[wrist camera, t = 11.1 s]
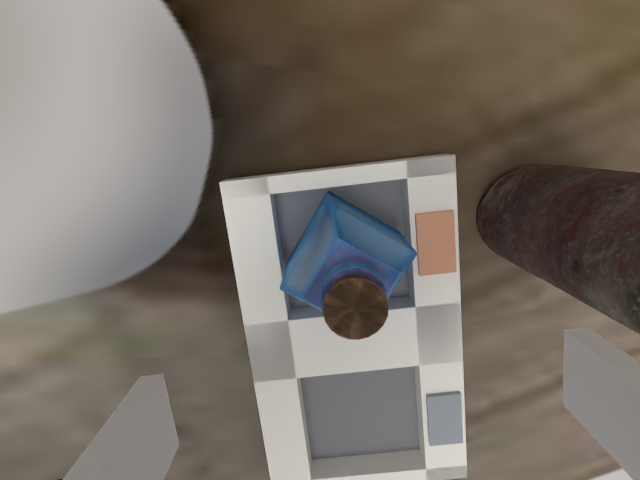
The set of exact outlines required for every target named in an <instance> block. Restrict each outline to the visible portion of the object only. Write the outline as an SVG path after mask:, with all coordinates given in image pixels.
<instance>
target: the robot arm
mask: <svg viewBox="0 0 640 480" xmlns="http://www.w3.org/2000/svg"><path fill="white" fill-rule="evenodd" d="M563 405H564V406H565V408H566V409H567V410H568V411H569V412H570V413H571V414H572V415H573V416H574V417H575V418H576V419H577V420H578V421H579V422H580V423H581V425H582V426H583V427H584V428H585V429H586V430H587V431H588V432H589V433H590V434H591V435H592V436H593V437H594V438H595V439H596V440H597V442H598V443H599V444H600V445H601V446H602V447H603V448H604V449H605V450H606V451H607V452H608V453H609V454H610V455H611V456H612V457H613V458H614V460H615V461H616V462H617V463H618V464H619V465H620V466H621V467H622V468H623V469H624V470H625V471H626V472H627V473H628V474H629V475H630V477H631V478H632V479H633V480H640V362H639V361H637V360H636V359H634V358H633V357H632V356H630V355H629V354H627V353H626V352H624V351H623V350H621V349H620V348H618V347H617V346H615V345H614V344H612V343H611V342H609V341H608V340H606V339H605V338H603V337H602V336H601V335H599V334H598V333H596V332H595V331H593V330H592V329H590V328H589V327H585V328H576V329H566V330H564V365H563ZM178 447H179V441H178V437H177V432H176V428H175V423H174V419H173V415H172V410H171V406H170V401H169V397H168V393H167V388H166V384H165V379H164V375H163V374H156V375H147V376H140V377H139V379H138V380H137V381H136V383H135V384H134V385H133V387H132V388H131V389H130V390H129V392H128V393H127V394H126V396H125V397H124V398H123V400H122V401H121V402H120V404H119V405H118V406H117V408H116V409H115V410H114V412H113V413H112V414H111V416H110V417H109V418H108V420H107V421H106V422H105V424H104V425H103V426H102V428H101V429H100V430H99V432H98V433H97V434H96V436H95V437H94V438H93V440H92V441H91V442H90V444H89V445H88V446H87V448H86V449H85V450H84V452H83V453H82V454H81V456H80V457H79V458H78V460H77V461H76V462H75V464H74V465H73V466H72V468H71V469H70V470H69V472H68V473H67V474H66V476H65V477H64V478H63V479H60V480H164V478H165V476H166V474H167V472H168V469H169V467H170V465H171V463H172V461H173V458H174V456H175V454H176V452H177V450H178Z"/></svg>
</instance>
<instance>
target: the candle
mask: <svg viewBox="0 0 640 480" xmlns="http://www.w3.org/2000/svg"><path fill="white" fill-rule="evenodd" d="M477 223H478V227H479V231H480V233H481V235H482V237H483V239H484V241H485V243H486V244H487V245H488V246H489V247H490V249H492V250H493V251H494V252H495V253H497V254H498V255H500V256H502V257H504V258H505V259H507V260H509V261H510V262H512V263H514V264H516V265H517V266H519V267H521V268H523V269H524V270H526V271H528V272H530V273H531V274H533V275H535V276H537V277H539V278H541V279H543V280H545V281H547V282H548V283H550V284H552V285H554V286H555V287H557V288H559V289H561V290H563V291H565V292H566V293H568V294H570V295H572V296H573V297H575V298H577V299H579V300H580V301H582V302H584V303H585V304H587V305H589V306H591V307H592V308H594V309H596V310H598V311H600V312H601V313H603V314H605V315H607V316H608V317H610V318H612V319H613V320H615V321H617V322H619V323H621V324H623V325H624V326H626V327H628V328H630V329H631V330H633V331H635V332H637V333H638V334H640V173H637V172H624V171H613V170H605V169H593V168H582V167H570V166H555V165H531V166H525V167H521V168H519V169H517V170H515V171H513V172H511V173H509V174H507V175H505V176H503V177H502V178H500V179H499V180H498V181H497V182H496V183H495V184H494V185H493V186H492V187H491V188H490V190H489V192H488V193H487V194H486V196H485V198H484V199H483V201H482V202H481V204H480V205H479V208H478V211H477Z"/></svg>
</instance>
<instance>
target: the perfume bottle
mask: <svg viewBox="0 0 640 480" xmlns="http://www.w3.org/2000/svg"><path fill="white" fill-rule="evenodd" d="M417 254H418V253H417V252H416V251H415V249H414V248H413V247H412V246H411V245H410V244H409V242H408V241H407V240H406V239H405V238H404V237H403V235H402V234H401V233H400V232H399V231H398V230H396V229H394V228H392V227H391V226H389V225H387V224H385V223H384V222H382V221H380V220H378V219H377V218H375V217H373V216H372V215H370V214H368V213H366V212H365V211H363V210H361V209H359V208H358V207H356V206H354V205H352V204H351V203H349V202H347V201H345V200H344V199H342V198H340V197H338V196H337V195H335V194H333V193H331V192H330V191H327V193H326V194H325V196H324V198H323V200H322V201H321V203H320V205H319V207H318V208H317V210H316V212H315V213H314V215H313V217H312V219H311V220H310V222H309V224H308V226H307V227H306V229H305V231H304V233H303V234H302V236H301V238H300V239H299V241H298V243H297V245H296V246H295V248H294V250H293V252H292V253H291V255H290V257H289V259H288V260H287V264H286V267H285V271H284V274H283V278H282V282H281V285H280V290H282V291H284V292H286V293H288V294H290V295H291V296H293V297H295V298H297V299H299V300H301V301H303V302H305V303H306V304H308V305H310V306H312V307H314V308H316V309H318V310H320V311H321V312H322V313H323V316H324V319H325V322H326V324H327V325H328V327H329V328H330V329H331V330H332V331H333V332H334V333H336V334H337V335H338V336H340V337H343V338H346V339H353V340H360V339H364V338H368V337H370V336H372V335H373V334H375V333H377V332H378V331H379V330H380V329H381V327H382V326H383V325H384V324H385V321H386V319H387V317H388V311H389V305H388V301H387V300H388V298H389V297H390V295H391V294H392V292H393V291H394V289H395V288H396V286H397V285H398V283H399V282H400V280H401V279H402V277H403V275H404V274H405V272H406V271H407V269H408V268H409V266H410V265H411V263H412V262H413V260H414V259H415V257H416V256H417Z"/></svg>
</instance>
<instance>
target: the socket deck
mask: <svg viewBox="0 0 640 480" xmlns="http://www.w3.org/2000/svg"><path fill="white" fill-rule="evenodd" d="M219 184H220V190H221V196H222V202H223V208H224V213H225V219H226V225H227V231H228V236H229V242H230V248H231V254H232V260H233V265H234V271H235V277H236V283H237V289H238V294H239V300H240V306H241V312H242V317H243V323H244V329H245V335H246V341H247V346H248V352H249V358H250V364H251V369H252V375H253V381H254V387H255V393H256V398H257V404H258V410H259V416H260V422H261V427H262V433H263V439H264V445H265V450H266V456H267V462H268V468H269V474H270V479H271V480H446V479H457V478H467V457H466V430H465V402H464V375H463V347H462V320H461V292H460V265H459V237H458V210H457V182H456V155H453V154H444V153H442V154H434V155H425V156H417V157H408V158H400V159H391V160H383V161H374V162H365V163H357V164H348V165H340V166H331V167H323V168H314V169H305V170H297V171H288V172H280V173H271V174H263V175H254V176H246V177H237V178H228V179H226V180H224V181H221V182H219ZM327 191H330V192H331V193H333V194H335V195H337V196H338V197H340V198H342V199H344V200H345V201H347V202H349V203H351V204H352V205H354V206H356V207H358V208H359V209H361V210H363V211H365V212H366V213H368V214H370V215H372V216H373V217H375V218H377V219H378V220H380V221H382V222H384V223H385V224H387V225H389V226H391V227H392V228H394V229H396V230H398V231H399V232H400V233H401V234H402V235H403V237H404V238H405V239H406V240H407V241H408V242H409V244H410V245H411V246H412V247H413V248H414V249H415V251H416V252H417V253H418V254H417V256H416V257H415V259H414V260H413V262H412V263H411V265H410V266H409V268H408V269H407V271H406V272H405V274H404V275H403V277H402V279H401V280H400V282H399V283H398V285H397V286H396V288H395V289H394V291H393V292H392V294H391V295H390V297H389V298H388V300H387V301H388V305H389V311H388V317H387V319H386V321H385V324H384V325H383V326H382V327H381V329H380V330H379V331H378V332H377V333H375V334H373V335H372V336H370V337H368V338H364V339H360V340H353V339H346V338H343V337H340V336H338V335H337V334H336V333H334V332H333V331H332V330H331V329H330V328H329V327H328V325H327V324H326V322H325V319H324V316H323V313H322V312H321V311H320V310H318V309H316V308H314V307H312V306H310V305H308V304H306V303H305V302H303V301H301V300H299V299H297V298H295V297H293V296H291V295H290V294H288V293H286V292H284V291H282V290H280V285H281V282H282V278H283V274H284V271H285V267H286V264H287V260H288V259H289V257H290V255H291V253H292V252H293V250H294V248H295V246H296V245H297V243H298V241H299V239H300V238H301V236H302V234H303V233H304V231H305V229H306V227H307V226H308V224H309V222H310V220H311V219H312V217H313V215H314V213H315V212H316V210H317V208H318V207H319V205H320V203H321V201H322V200H323V198H324V196H325V194H326V193H327Z"/></svg>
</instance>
